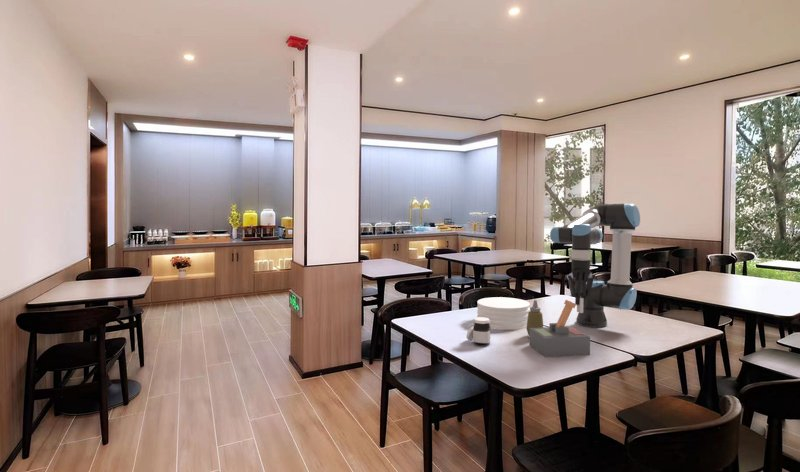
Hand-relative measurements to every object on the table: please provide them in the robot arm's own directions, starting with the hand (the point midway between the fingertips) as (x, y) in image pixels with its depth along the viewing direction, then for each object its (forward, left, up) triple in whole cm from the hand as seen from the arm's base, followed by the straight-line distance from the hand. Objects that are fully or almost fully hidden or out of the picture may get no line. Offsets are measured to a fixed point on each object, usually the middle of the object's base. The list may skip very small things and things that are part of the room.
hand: (579, 312), depth 187 cm
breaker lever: (+10, 0, -8) cm, 13 cm away
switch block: (+10, 0, -17) cm, 19 cm away
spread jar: (+42, -15, -17) cm, 47 cm away
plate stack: (+18, -47, -17) cm, 53 cm away
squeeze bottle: (+12, -20, -17) cm, 29 cm away
